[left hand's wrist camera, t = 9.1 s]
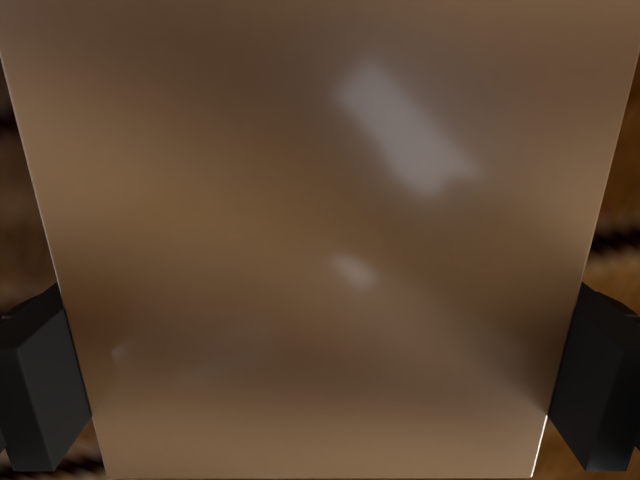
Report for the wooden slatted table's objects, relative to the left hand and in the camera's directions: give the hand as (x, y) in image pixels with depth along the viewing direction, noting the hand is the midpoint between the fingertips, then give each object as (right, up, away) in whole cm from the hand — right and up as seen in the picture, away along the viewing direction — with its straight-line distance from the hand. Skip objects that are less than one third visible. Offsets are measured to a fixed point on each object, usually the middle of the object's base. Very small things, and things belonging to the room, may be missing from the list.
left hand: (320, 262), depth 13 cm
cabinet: (0, +7, +1) cm, 7 cm away
